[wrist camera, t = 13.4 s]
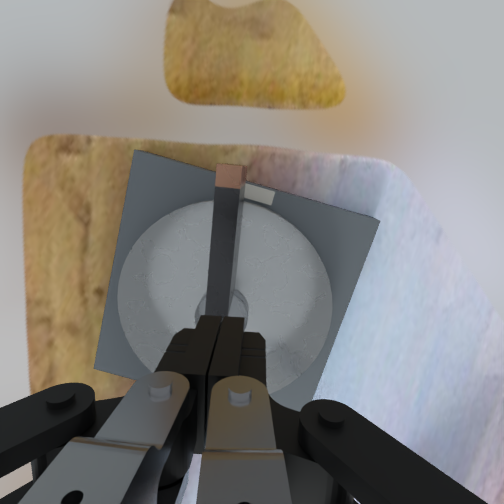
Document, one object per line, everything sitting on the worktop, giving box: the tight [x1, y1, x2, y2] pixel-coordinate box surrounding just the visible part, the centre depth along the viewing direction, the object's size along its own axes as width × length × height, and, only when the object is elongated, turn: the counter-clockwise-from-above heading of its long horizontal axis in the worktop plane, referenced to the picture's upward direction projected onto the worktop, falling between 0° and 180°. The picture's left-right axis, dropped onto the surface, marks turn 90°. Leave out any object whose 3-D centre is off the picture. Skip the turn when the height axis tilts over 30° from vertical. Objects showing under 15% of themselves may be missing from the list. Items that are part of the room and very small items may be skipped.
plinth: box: [94, 150, 380, 412], centre depth 33 cm, size 22×22×2 cm
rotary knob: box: [117, 164, 333, 394], centre depth 28 cm, size 22×19×8 cm
